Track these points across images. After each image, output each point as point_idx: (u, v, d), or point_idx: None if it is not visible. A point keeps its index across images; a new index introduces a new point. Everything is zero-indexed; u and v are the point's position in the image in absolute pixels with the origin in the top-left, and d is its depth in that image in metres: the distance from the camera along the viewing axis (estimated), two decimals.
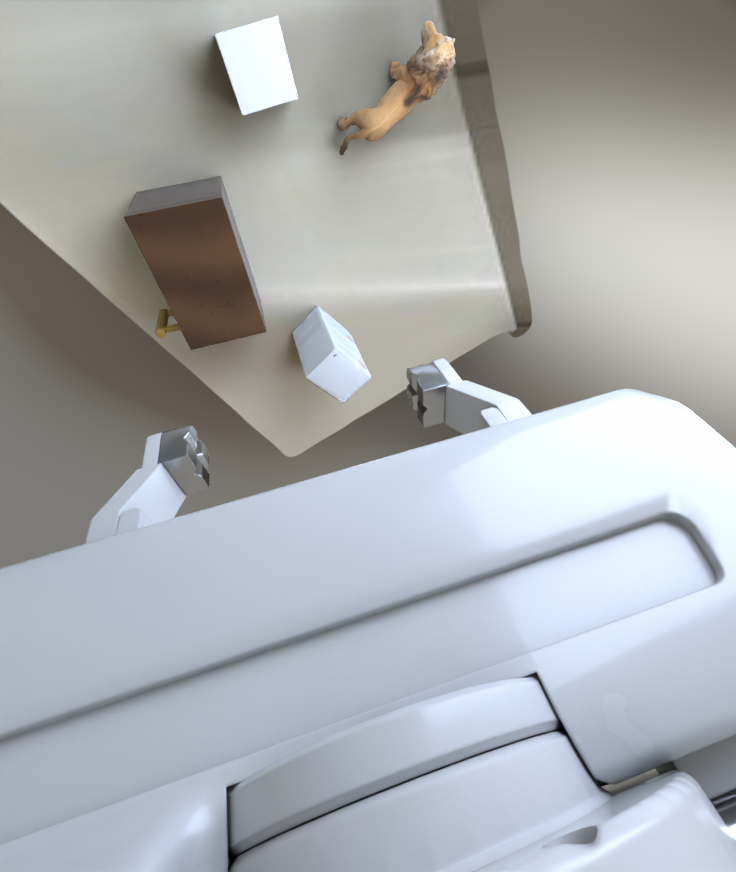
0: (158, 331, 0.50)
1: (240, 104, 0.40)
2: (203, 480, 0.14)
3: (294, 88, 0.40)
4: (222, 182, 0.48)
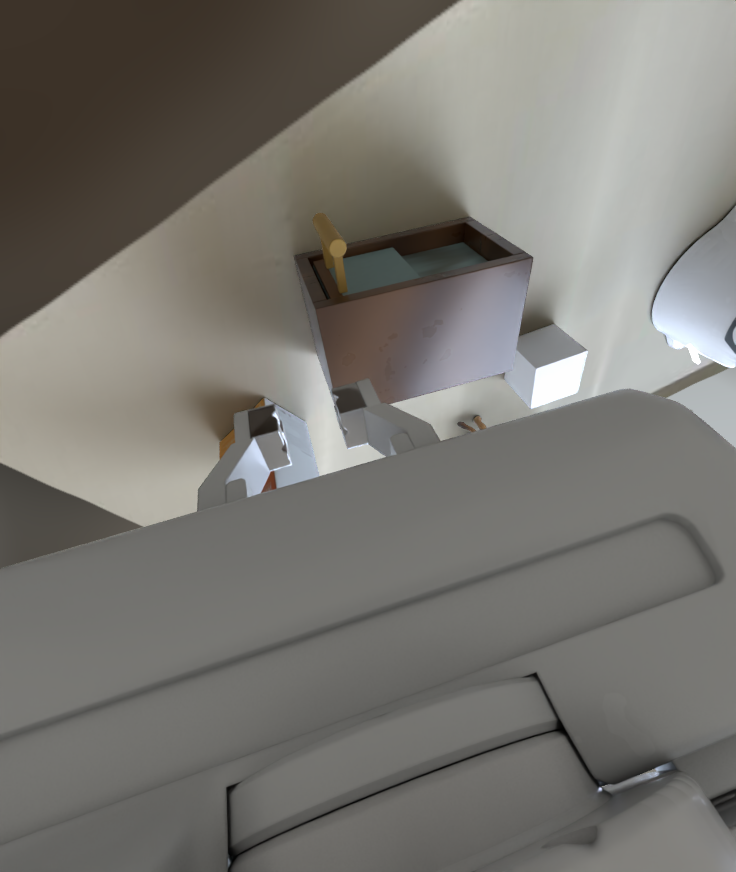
0: (342, 246, 0.26)
1: (543, 367, 0.42)
2: (288, 456, 0.14)
3: (537, 406, 0.46)
4: None
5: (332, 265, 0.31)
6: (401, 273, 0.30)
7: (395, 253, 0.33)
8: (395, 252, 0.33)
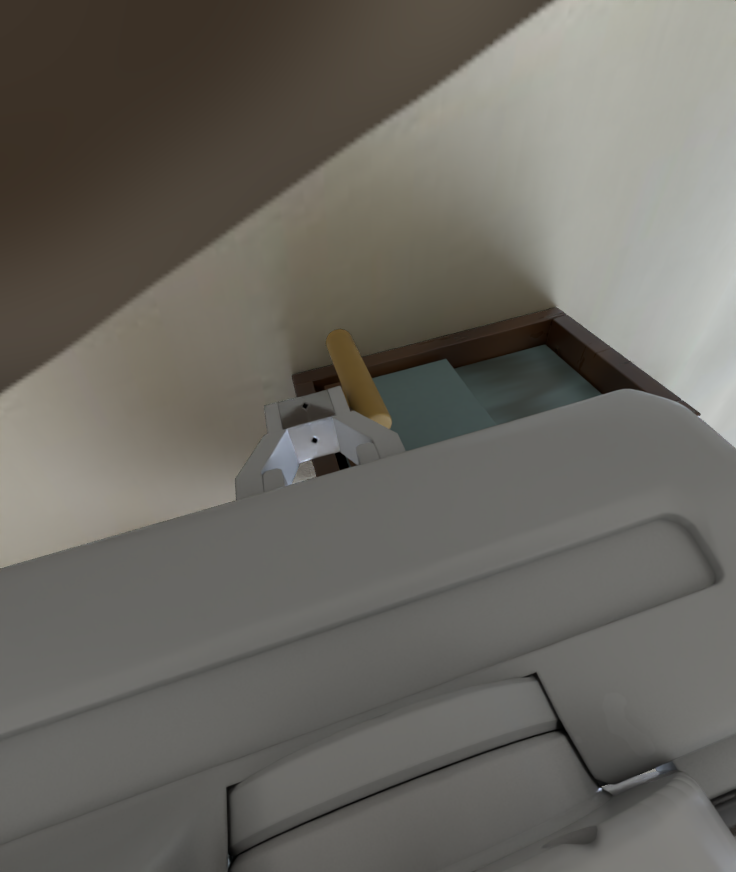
0: (385, 422, 0.14)
1: None
2: (317, 448, 0.14)
3: None
4: None
5: None
6: (471, 424, 0.18)
7: (452, 373, 0.21)
8: (452, 371, 0.21)
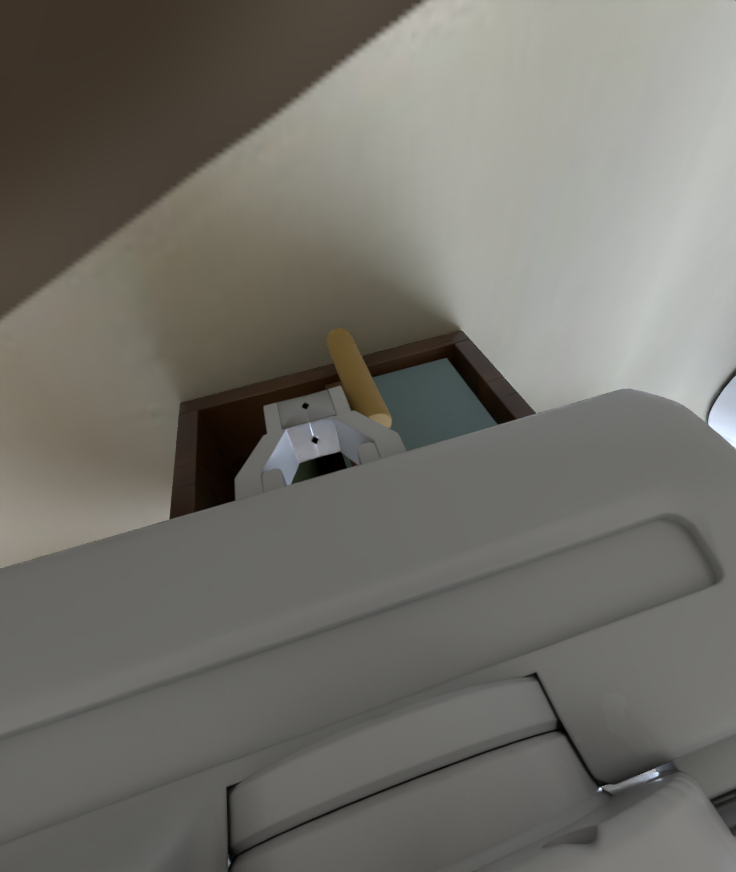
0: (385, 421, 0.14)
1: None
2: (317, 448, 0.14)
3: None
4: None
5: None
6: (471, 423, 0.18)
7: (453, 372, 0.21)
8: (452, 370, 0.21)
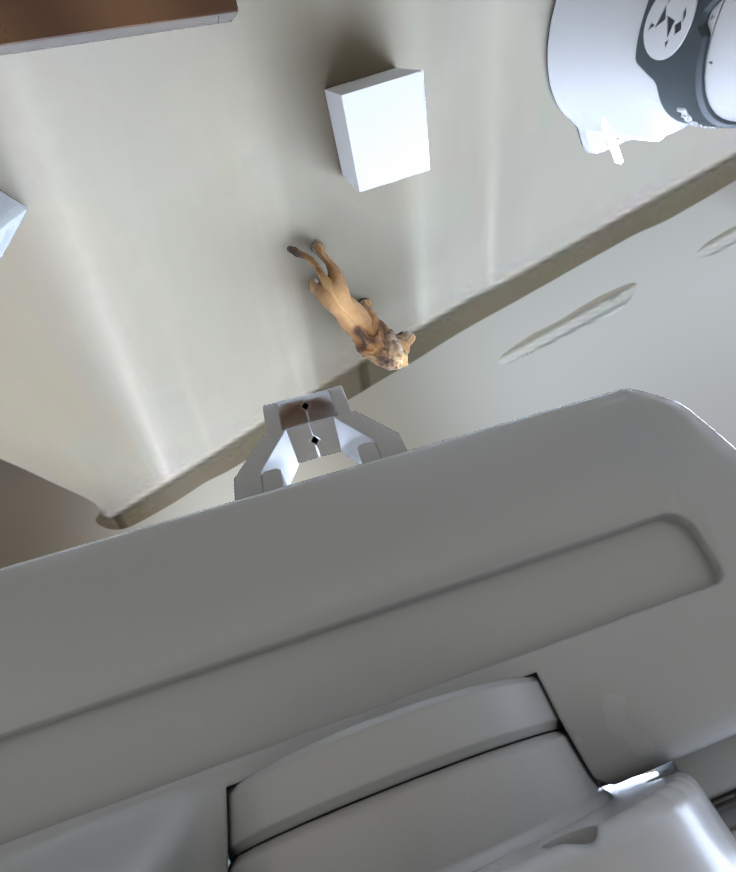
0: None
1: (353, 94, 0.27)
2: (317, 448, 0.14)
3: (369, 187, 0.31)
4: (223, 22, 0.27)
5: None
6: None
7: None
8: None
